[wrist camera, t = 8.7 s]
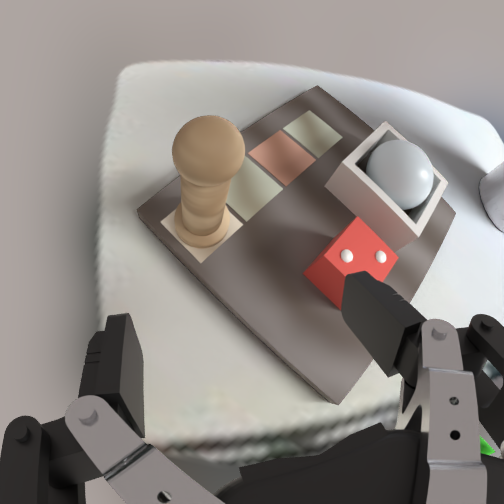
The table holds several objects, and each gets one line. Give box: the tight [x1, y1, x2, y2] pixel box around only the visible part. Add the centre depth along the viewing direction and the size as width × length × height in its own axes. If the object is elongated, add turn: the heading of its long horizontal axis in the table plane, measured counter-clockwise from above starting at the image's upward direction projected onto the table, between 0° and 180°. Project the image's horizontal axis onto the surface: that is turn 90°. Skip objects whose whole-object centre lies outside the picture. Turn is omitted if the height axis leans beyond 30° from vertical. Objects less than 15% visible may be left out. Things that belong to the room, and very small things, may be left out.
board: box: [137, 85, 456, 405], centre depth 28 cm, size 25×22×2 cm
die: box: [303, 216, 399, 310], centre depth 23 cm, size 4×4×4 cm
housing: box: [324, 121, 448, 252], centre depth 27 cm, size 9×9×4 cm
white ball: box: [366, 140, 434, 210], centre depth 25 cm, size 6×6×6 cm
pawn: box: [172, 115, 245, 249], centre depth 19 cm, size 4×4×11 cm
